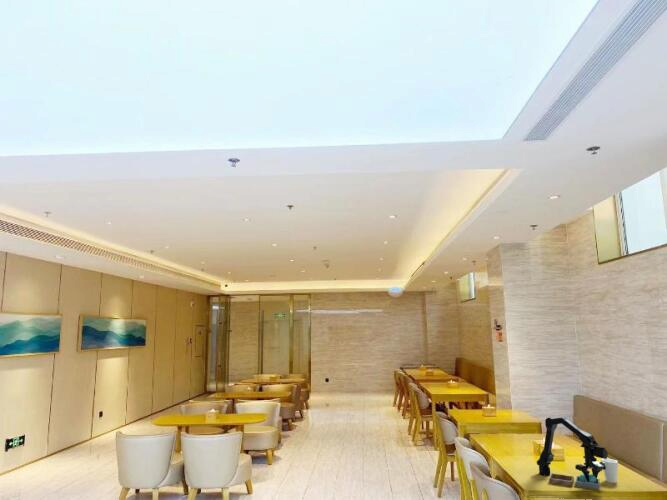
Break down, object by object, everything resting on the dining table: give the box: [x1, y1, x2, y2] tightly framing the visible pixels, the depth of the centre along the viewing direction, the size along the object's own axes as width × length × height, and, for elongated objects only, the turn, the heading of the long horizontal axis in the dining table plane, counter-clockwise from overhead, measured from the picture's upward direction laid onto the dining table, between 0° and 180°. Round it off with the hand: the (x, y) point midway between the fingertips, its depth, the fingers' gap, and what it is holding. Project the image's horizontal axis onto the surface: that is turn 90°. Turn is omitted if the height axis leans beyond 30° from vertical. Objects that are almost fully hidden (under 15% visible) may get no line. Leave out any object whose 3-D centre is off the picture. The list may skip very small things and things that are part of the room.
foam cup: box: [600, 458, 619, 484], centre depth 308 cm, size 10×9×13 cm
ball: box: [578, 473, 587, 483], centre depth 303 cm, size 5×5×5 cm
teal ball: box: [589, 473, 596, 483], centre depth 296 cm, size 5×5×5 cm
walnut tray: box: [549, 473, 575, 488], centre depth 305 cm, size 13×13×3 cm
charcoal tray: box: [574, 475, 601, 491], centre depth 299 cm, size 13×13×3 cm
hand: (591, 481), depth 296 cm, fingers closed on teal ball, 5 cm apart
